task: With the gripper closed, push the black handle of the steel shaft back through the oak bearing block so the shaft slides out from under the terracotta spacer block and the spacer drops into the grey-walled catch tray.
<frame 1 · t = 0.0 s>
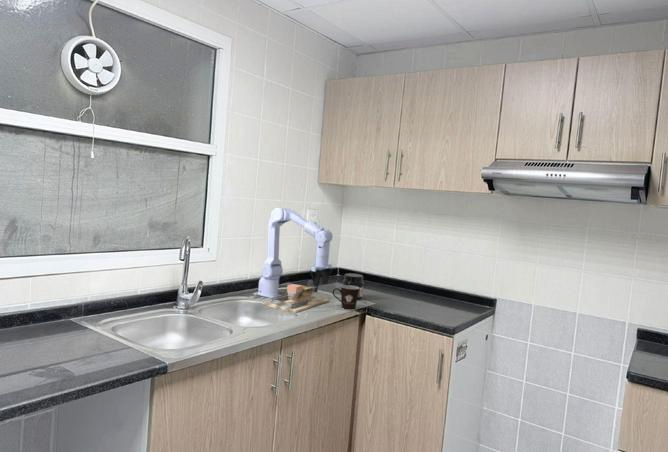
hand: (320, 285, 216), 10 cm above the counter, tool pointing down, fingers open, 7 cm apart
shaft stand: (300, 302, 221), on the counter
shaft: (302, 288, 222), point 7 cm above the counter, slide at 0.0 cm, touching spacer
spacer: (294, 291, 216), point 6 cm above the counter, touching shaft
coffee mug: (345, 308, 219), on the counter
supplement container: (352, 298, 239), on the counter
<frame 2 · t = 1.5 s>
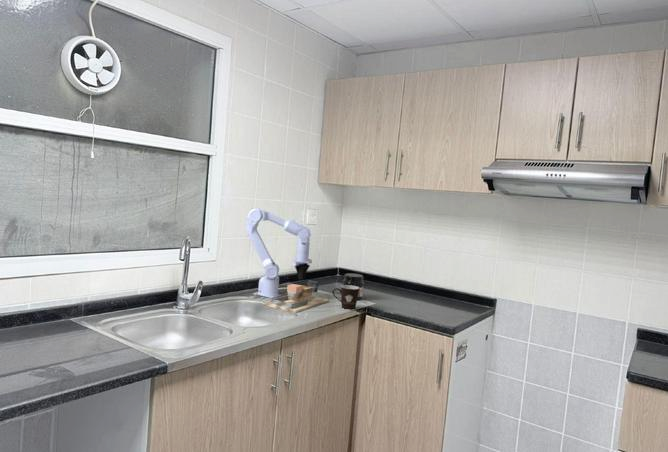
hand: (301, 278, 231), 9 cm above the counter, tool pointing down, fingers closed
nothing on the counter moved.
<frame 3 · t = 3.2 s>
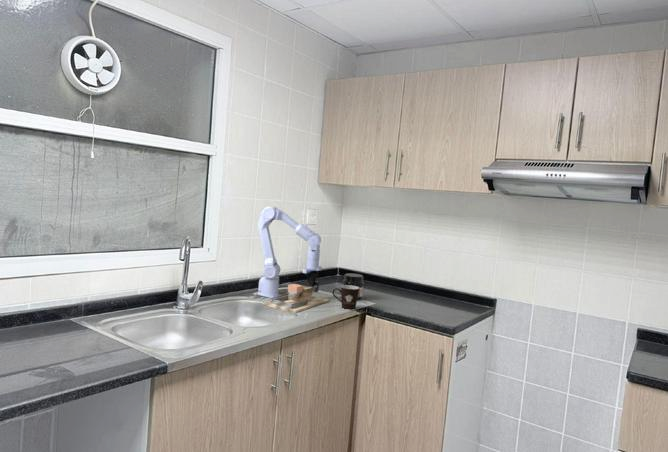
hand: (311, 286, 228), 7 cm above the counter, tool pointing down, fingers closed
shaft: (303, 288, 222), point 6 cm above the counter, slide at 0.6 cm, touching gripper, spacer
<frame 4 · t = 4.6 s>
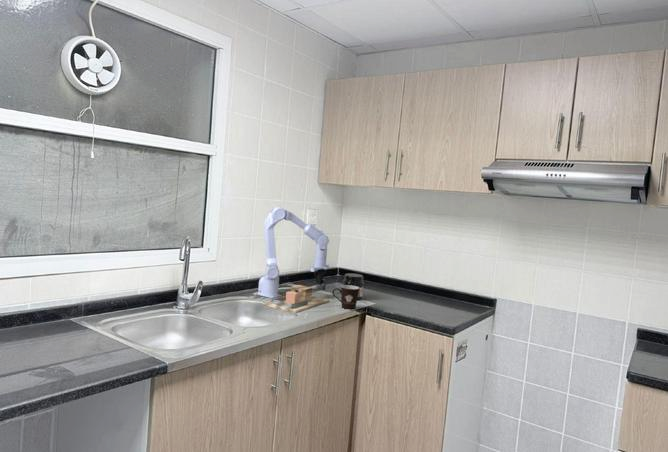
hand: (318, 284, 234), 7 cm above the counter, tool pointing down, fingers closed
shaft: (311, 286, 228), point 7 cm above the counter, slide at 7.6 cm, touching gripper
spacer: (294, 297, 216), point 3 cm above the counter, tilted 90°, touching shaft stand
everything else where it was.
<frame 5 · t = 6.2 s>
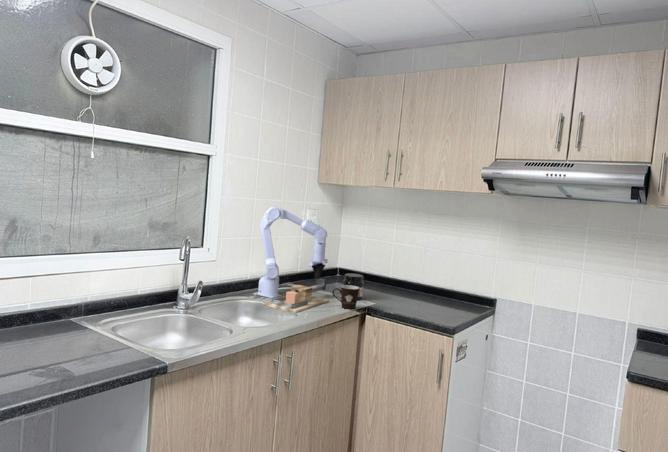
hand: (317, 278, 232), 10 cm above the counter, tool pointing down, fingers closed
shaft: (311, 286, 228), point 7 cm above the counter, slide at 7.8 cm
everything else where it was.
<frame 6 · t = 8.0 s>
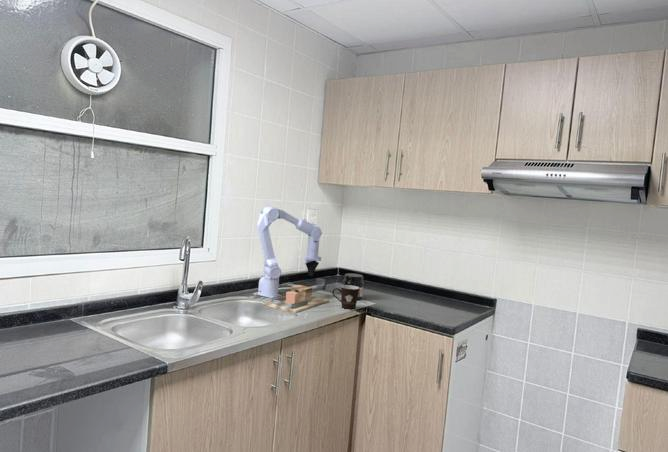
hand: (310, 275, 238), 10 cm above the counter, tool pointing down, fingers closed
nothing on the counter moved.
at the end: shaft slide at 7.8 cm; spacer inside the target area (2.9 cm from its centre), point 3.5 cm above the counter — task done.
